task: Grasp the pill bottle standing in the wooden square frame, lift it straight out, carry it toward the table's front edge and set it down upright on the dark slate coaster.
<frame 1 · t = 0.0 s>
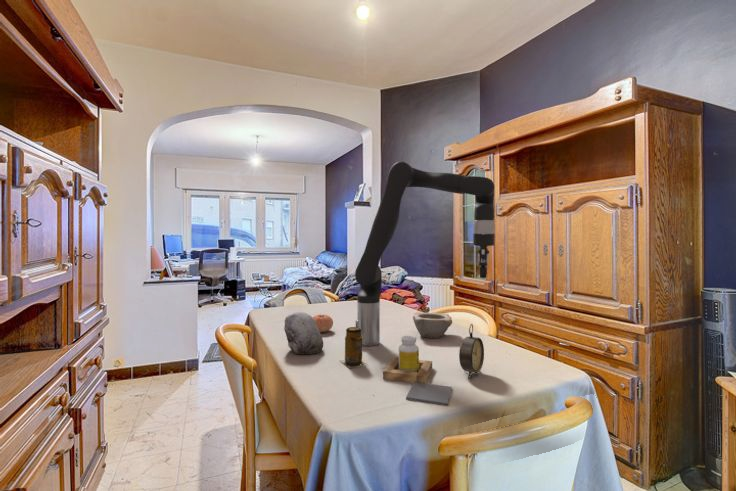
hand: (483, 276, 136), 29 cm above the table, fingers open, 8 cm apart
stone: (304, 351, 141), on the table
mortar: (432, 336, 162), on the table
condiment: (354, 363, 127), on the table
tomato: (321, 332, 169), on the table
alarm clock: (470, 374, 117), on the table
wooden square frame: (408, 373, 118), on the table
slate coaster: (429, 393, 103), on the table
pill bottle: (408, 374, 118), resting in wooden square frame
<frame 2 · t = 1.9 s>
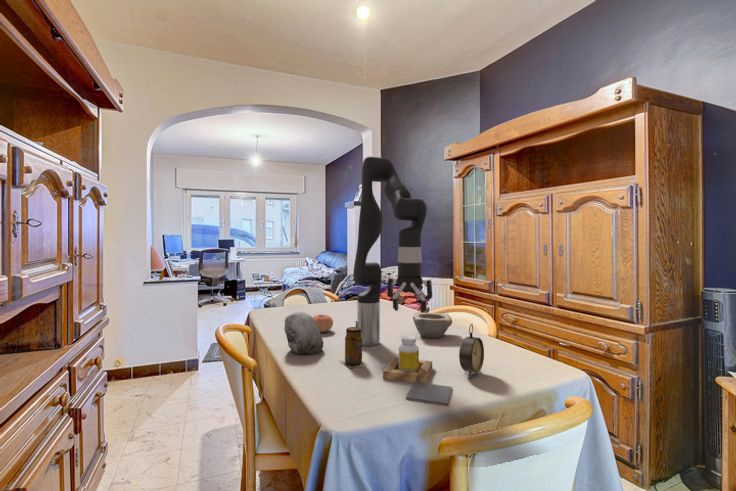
hand: (409, 311, 118), 20 cm above the table, fingers open, 8 cm apart
nothing on the table moved.
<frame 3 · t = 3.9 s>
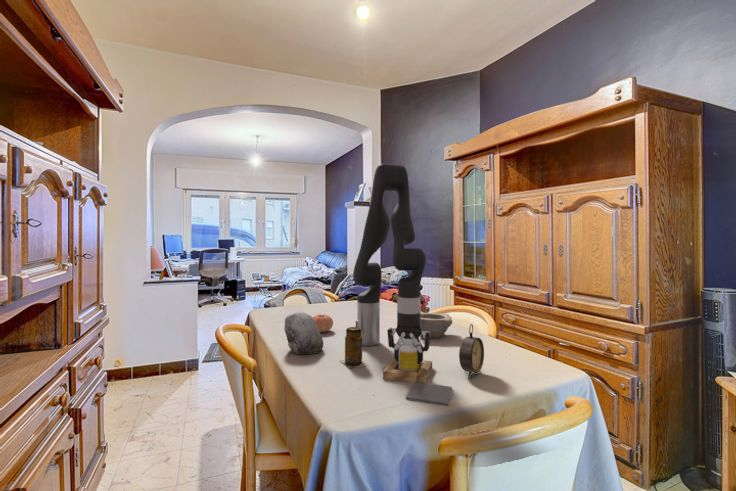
hand: (408, 361, 118), 4 cm above the table, fingers closed on pill bottle, 6 cm apart
pill bottle: (408, 374, 118), resting in wooden square frame, touching gripper
everything else where it was.
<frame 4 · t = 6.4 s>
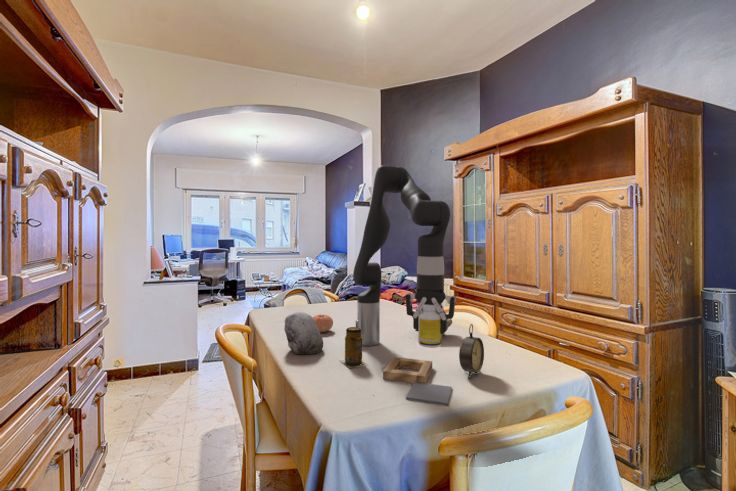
hand: (430, 331, 102), 18 cm above the table, fingers closed on pill bottle, 6 cm apart
pill bottle: (429, 345, 103), point 14 cm above the table, touching gripper
everything else where it was.
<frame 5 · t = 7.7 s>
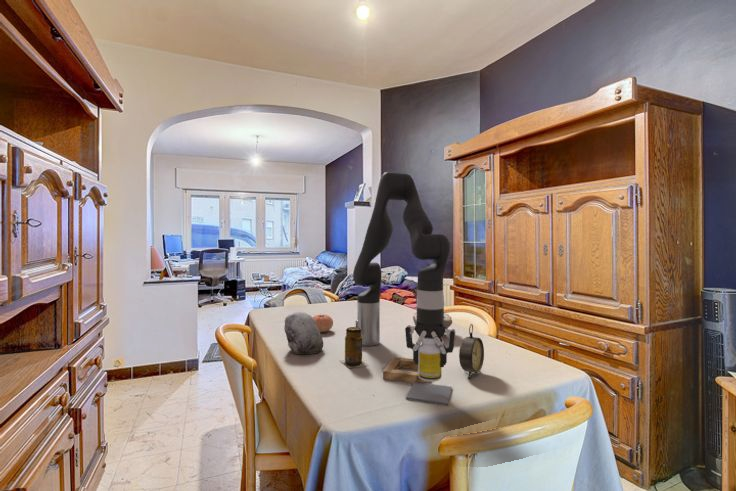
hand: (429, 364, 103), 8 cm above the table, fingers closed on pill bottle, 6 cm apart
pill bottle: (429, 378, 103), point 4 cm above the table, touching gripper
everything else where it was.
when the fingers open (5 cm above the table, at t = 8.8 s): pill bottle stays where it is, resting on slate coaster.
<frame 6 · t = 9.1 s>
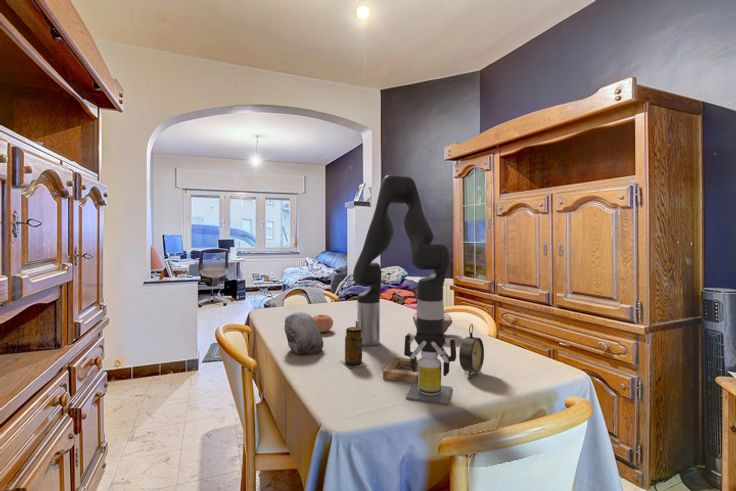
hand: (429, 373, 103), 6 cm above the table, fingers open, 8 cm apart
pill bottle: (429, 392, 103), resting on slate coaster
everything else where it was.
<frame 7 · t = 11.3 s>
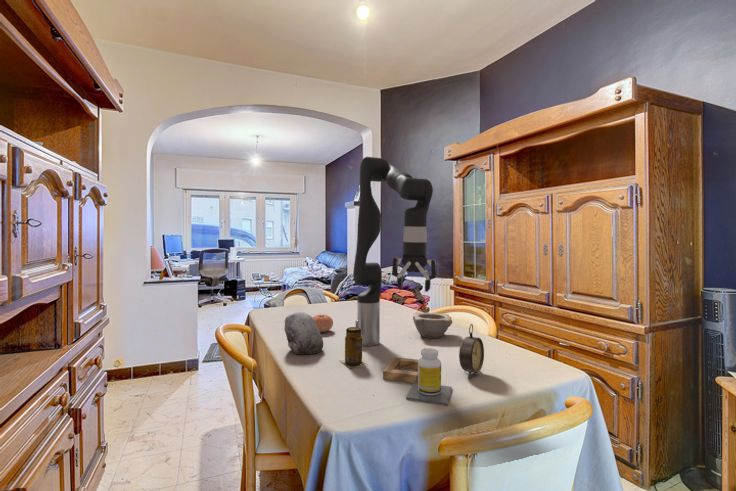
hand: (413, 290, 119), 27 cm above the table, fingers open, 8 cm apart
nothing on the table moved.
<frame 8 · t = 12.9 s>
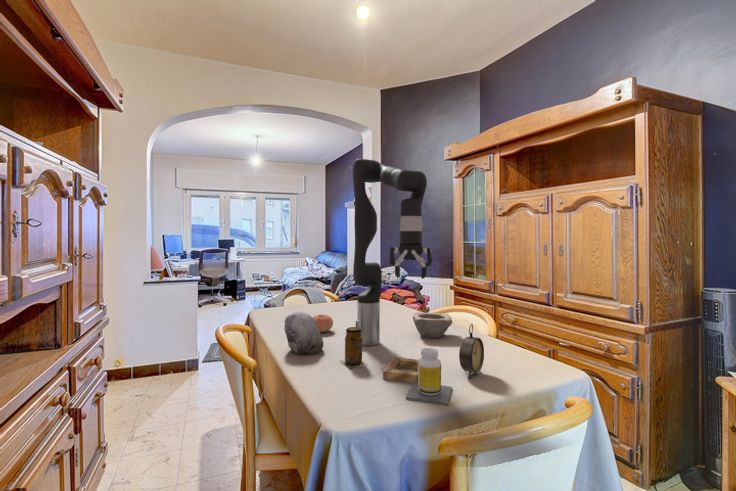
hand: (410, 277, 124), 30 cm above the table, fingers open, 8 cm apart
nothing on the table moved.
at the end: pill bottle inside the target area on the slate coaster (0.1 cm from its centre), point 0.4 cm above the slate coaster's base; pill bottle tilted 0°; the gripper is holding nothing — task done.
